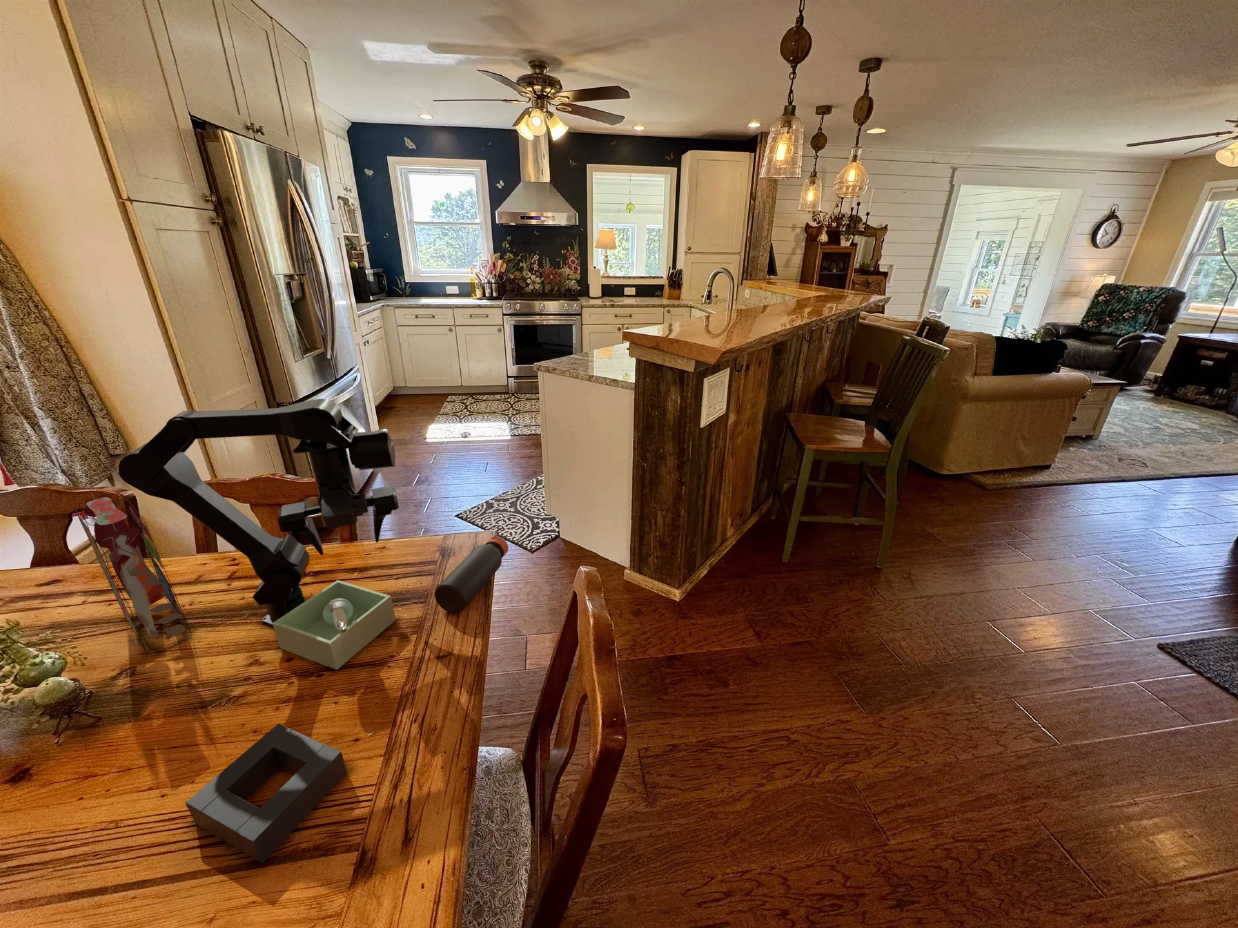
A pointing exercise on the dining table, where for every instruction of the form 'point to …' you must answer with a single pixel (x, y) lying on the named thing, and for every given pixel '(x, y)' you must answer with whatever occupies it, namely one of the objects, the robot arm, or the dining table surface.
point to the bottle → (470, 575)
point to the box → (131, 565)
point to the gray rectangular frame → (272, 823)
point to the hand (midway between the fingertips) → (350, 547)
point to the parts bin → (324, 641)
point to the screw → (338, 613)
